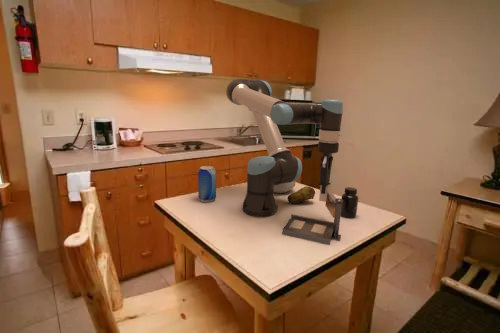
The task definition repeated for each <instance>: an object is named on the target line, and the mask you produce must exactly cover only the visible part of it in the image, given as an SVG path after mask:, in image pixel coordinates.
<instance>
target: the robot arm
mask: <svg viewBox="0 0 500 333" xmlns="http://www.w3.org/2000/svg"><path fill="white" fill-rule="evenodd" d="M225 89H226V90H225V95H226V97H227V99H228V101H229V102H231V103H233V104H235V105H237V106H244V107H245V108H247V109H248V111H249V112H252V113H253V116H254V120H255V122H256V124H257V127H258V130H259V132H260V135H261V137H262V141H263V143H264V145H265V148H266V151H267V154H268V155H263V156H256V157H252V158H250V160H248V162H247V170H246V174H247V175H246V176H247V177H246V178H247V179H246V194H245V198H244V200H243V202H242V208H241V210H242V212H243V213H244V214H246V215H249V216H251V217H257V218H258V217H261V218H262V217H271V216H273V215H275V214H276V213H277V210H278V207H277V206H278V205H277V202H276V199H275V192H274V185H279V184H284V183H291V182H293V181H297V180H299V179H300V178H301V174H302V172H303V164H302V161H301V159H300V158H299V157H297V156H295V155H293V153H292V150H290V149H288V148H287V147H286V145H285V141H284V139H283V136H282V134H281V131H280V129H279V127H278V125H281V126H286V125H301V124H302V125H304V124H311V125H312V124H313V125H319V131H318V143H317V144H318V146H317V151H318V152H320V153H323V154H322V156H321V157H320V175H319V177H320V178H319V183H318V186H320V188H319V199H318V200H319V201H320V202H325V203H326V201H327V193H328V188H329V185H331V182H330V181H331V171H332V166H333V165H332V164H333V161H334V156H332V154H337V153H338V152H339V147H340V143H339V141H340V137H342V135H343V134H342V133H341V125H342V118H343V114H344V112H343V110H344V108H343V106H344V102H343V100H342V99H326V98H324V99H323V100H322V101H321V104H315V103H289V102H286V101H283V100H281V99H278V98H275V97H273V95H272V94H273V91H272V87H271V85H270V83H268V82H267V81H265V80H261V79H248V78H236V79H233V80H231V81H230V82H229V83H228V84H227V86H226V88H225Z"/></svg>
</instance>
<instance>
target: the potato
mask: <svg viewBox="0 0 500 333" xmlns="http://www.w3.org/2000/svg"><path fill="white" fill-rule="evenodd" d="M315 194H316V190H315V189H314V188H313V187H311V186H308V185H307V186H304V187H301V188H300V189H298V190H296V191H294V192H292V193H290V194H289V195H288V196H287V202H288V203H291V204H300V203H303V202H307V201H309V200H314V199H315Z"/></svg>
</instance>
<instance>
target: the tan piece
mask: <svg viewBox="0 0 500 333" xmlns="http://www.w3.org/2000/svg"><path fill="white" fill-rule="evenodd" d="M335 199H337V197H336V196H335V195H334V194H333V192H332V190H330V188H329V187H328V193H327V201H326V202H325V207H326V209H327V210H328V212H329V213H330V215H331V217H332V218H334V216H335V206H336V201H335Z"/></svg>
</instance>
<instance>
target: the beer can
mask: <svg viewBox="0 0 500 333" xmlns="http://www.w3.org/2000/svg"><path fill="white" fill-rule="evenodd" d="M197 176H198V177H197V178H198V180H197V182H198V185H197V186H198V187H197V188H198V190H197V191H198V199H199V200H200V202H201V203H213V202H214V201H215V200H216V199H217V171H216V169H215V167H214V166H212V165H203V166H200V167H199V170H198V172H197Z"/></svg>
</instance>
